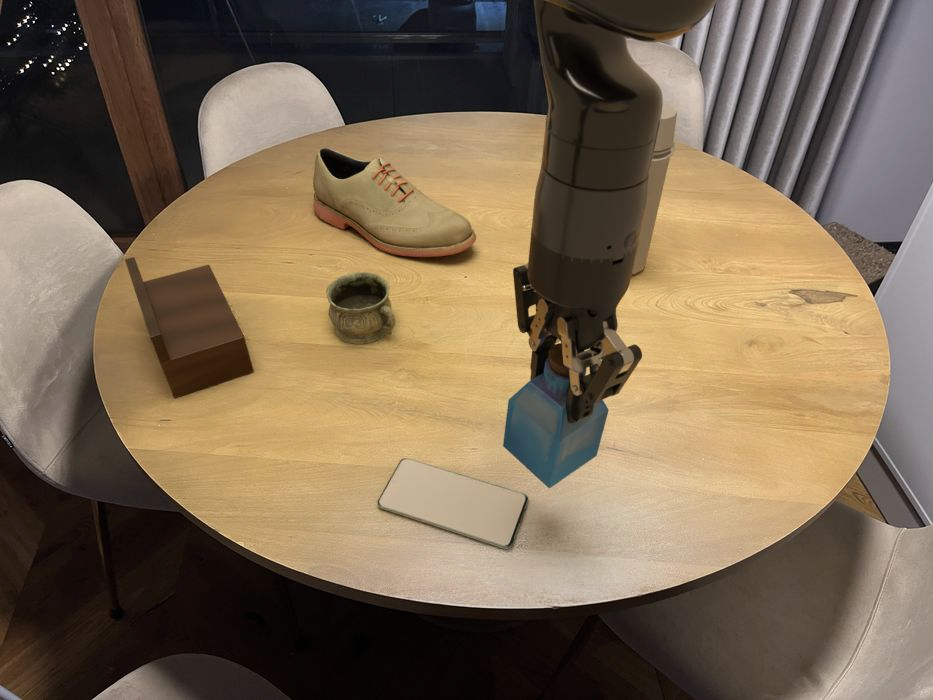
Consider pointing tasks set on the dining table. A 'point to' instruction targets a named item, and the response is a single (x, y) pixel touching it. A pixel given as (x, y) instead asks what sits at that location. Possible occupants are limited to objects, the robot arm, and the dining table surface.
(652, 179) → the water bottle
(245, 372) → the wooden display stand
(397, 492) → the smartphone
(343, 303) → the vessel
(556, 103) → the robot arm
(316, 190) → the oxford shoe
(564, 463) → the perfume bottle
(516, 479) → the dining table surface
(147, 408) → the dining table surface
